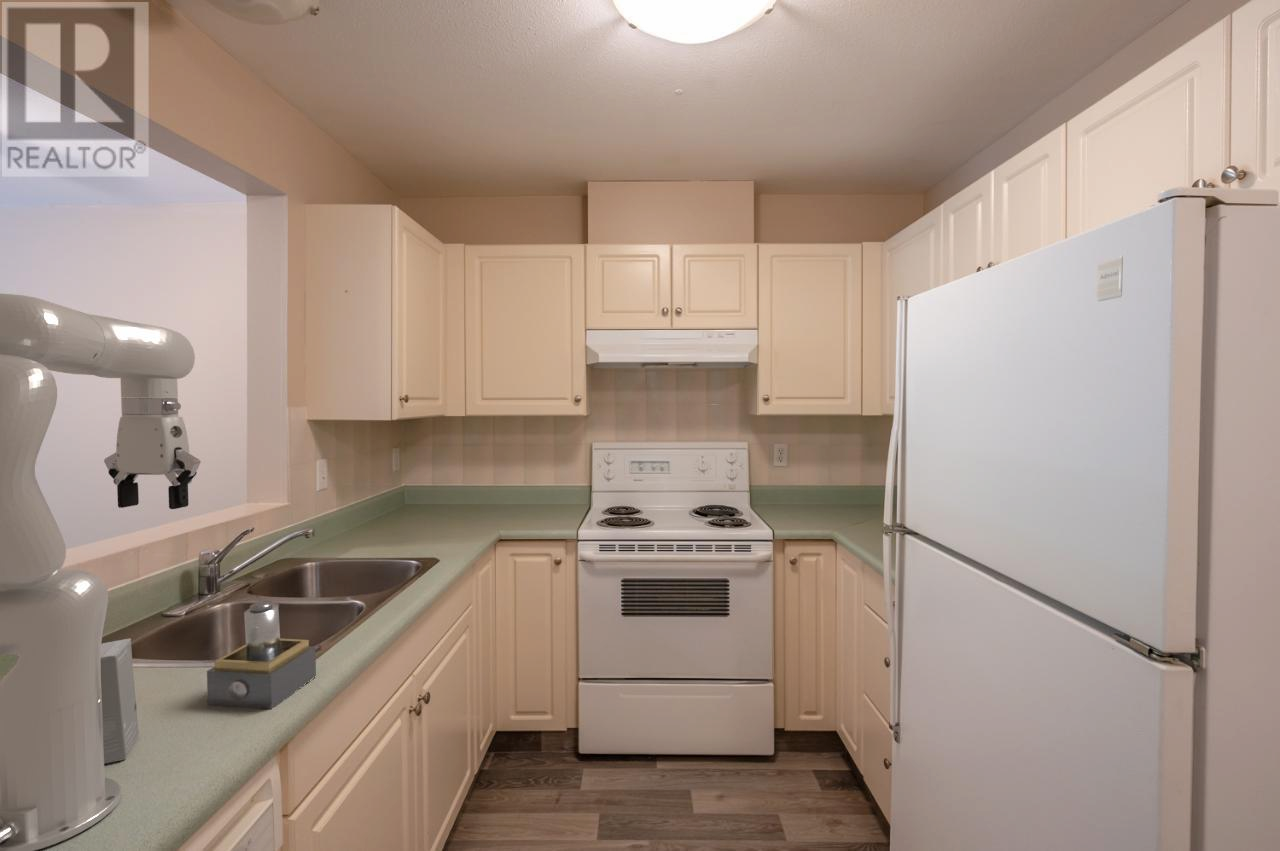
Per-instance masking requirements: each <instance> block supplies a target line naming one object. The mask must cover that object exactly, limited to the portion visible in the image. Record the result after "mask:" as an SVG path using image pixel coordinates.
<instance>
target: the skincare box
mask: <svg viewBox="0 0 1280 851" xmlns="http://www.w3.org/2000/svg"><path fill="white" fill-rule="evenodd" d="M132 651H133V650H132V638H130V637H129V638H124V639H119V640H113V641H108V642H103V643H102V642H101V692H102V719H103V746H104V765H105V764H109V763H114V762H118V761H124V760H126V759H127V757H128V755H129V753H130V751H131V749H132V748H133V746H134V744H135V742H136V740H137V738H138V735H139V722H138V720H139V719H138V711H137V710H138V709H137V701H136V700H137V699H136V686H135V675H134V674H135V673H134V664H133V663H134V662H133V652H132Z"/></svg>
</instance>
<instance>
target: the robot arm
mask: <svg viewBox="0 0 1280 851" xmlns="http://www.w3.org/2000/svg"><path fill="white" fill-rule="evenodd" d="M195 355H196V354H195V351H194V348H193V345H192V343H191V342H190V341H189V339H188V338H187V337H186V336H185V335H183V334H182V333H180V332H179V331H175V330H173V329H170V328H167V327H163V326H156V325H151V324H147V323H141V322H135V321H134V322H133V321H128V320H122V319H120V318H119V319H118V318H113V317H107V316H102V315H95V314H89V313H87V312H82V311H79V310H76V309H72V308H70V307H67V306H63V305H61V304H58V303H54V302H50V301H48V300H45V299H41V298H38V297H36V296H35V297H34V296H28V295H21V294H13V293H0V656H7V655H8V656H9V655H15V656H18V660H17V661H16V663H15V664H14V666H13V667H12V668H11V669H10V670H9V671H8V672H7V673H6V674H5V675H4V676H3V678H2V679H1V680H0V851H39V850H41V849H44V848H48V847H50V846H54V845H56V844H58V843H61V842H63V841H66V840H68V839H70V838H72V837H74V836H76V835H78V834H80V833H82V832H84V831H85V830H86V831H87V829H89V828H91V827H92V826H94V825H95V824H97V823H98V822H100V821H101V820H102V819H104V818H105V817H106V816H108V814H110V813H111V812H112V811H113V810H114V808H115V807H116V806H117V805H118V804H119V802H120V800H121V797H122V789H121V788H122V785H120V783H119V782H118V781H116V780H114V779H109V778H106V777H105V775H106V774H105V764H104V746H103V719H102V692H101V644H102V640H103V631H104V628H105V621H106V616H107V610H108V604H109V590H108V586H107V584H106V582H105V581H104V580H103V579H102V578H101V577H100V576H98V575H96V574H94V573H92V572H89V571H85V570H77V569H76V570H75V569H62V567H63V566H64V564H65V561H66V557H67V549H66V547H67V546H66V544H65V540H64V537H63V535H62V532H61V530H60V527H59V525H58V523H57V521H56V519H55V517H54V515H53V513H52V510H51V509H50V507H49V505H48V503H47V501H46V498H45V496H44V495H43V492H42V490H41V488H40V485H39V483H38V480H37V477H36V469H35V468H36V463H37V458H38V456H39V453H40V449H41V446H42V444H43V441H44V439H45V437H46V434H47V431H48V429H49V426H50V424H51V421H52V418H53V414H54V411H55V409H56V406H57V401H58V387H57V384H56V383H57V382H56V380H55V377H54V375H53V373H52V372H56V373H63V374H70V375H71V374H72V375H82V376H84V375H87V376H95V377H99V378H102V379H103V378H106V379H120V400H121V401H120V402H121V403H120V404H121V409H120V410H121V416H120V418H119V421H118V427H117V434H116V445H115V447H116V448H115V449H116V450H115V452H114V453H112V454H111V455H109V456H107V457H106V458H104V459H103V462H104V464H105V466H106V468H107V470H108V475H109V476H110V478H112V479H113V480H112V481H113V484H114V485H116V490H117V491H116V493H117V507H118V508H119V509H120V508H121V509H124V508H128V507H134V506H135V507H136V506H138V505H139V503H140V502H139V501H140V500H139V499H140V498H139V496H140V495H139V483H138V482H136V481H135V480H137V478H138V477H139V475H140V476H141V475H142V476H143V475H144V476H145V475H147V476H148V475H151V476H154V475H155V476H157V475H158V476H161V475H162V476H163V475H164V476H165V477H166V479H167V480H168V481H169V482H170V484H171V485H169V486H168V489H167V490H168V508H169V510H176V509H177V510H178V509H181V508H186V507H188V506H189V484H190V485H191V483H192V481H193V479H194V478H195V477H196V475H197V473H198V472H197V471H198V469H199V467H200V465H201V460H200V459H199V458H197V457H196V456H194V455H192V454H191V453H190V446H189V438H188V432H187V428H186V424H185V421H184V418H183V417H182V416H179V411H180V410H181V408H182V405H181V403H180V402H179V399H178V398H179V396H178V388H179V387H178V380H179V379H183V378H185V377H187V376H188V375H189V374H190V373H191V372H192V370H193V368H194V365H195V359H196V356H195Z"/></svg>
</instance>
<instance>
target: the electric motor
mask: <svg viewBox="0 0 1280 851" xmlns="http://www.w3.org/2000/svg"><path fill="white" fill-rule="evenodd" d="M279 607H280V603H279V601H271V600H263V601H262V600H261V601H257V602H255V603H252V604H250V605H249V608H248V609H247V610H245V611H244V613H243V617H244V633H245V645H246V654H247V661H259V662H269V661H270V660H272V659H274V658H275V657H277V656H279V655H280V654H281V646H280V639H281V633H280V630H281V629H280V614H279Z"/></svg>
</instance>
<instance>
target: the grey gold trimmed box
mask: <svg viewBox="0 0 1280 851" xmlns="http://www.w3.org/2000/svg"><path fill="white" fill-rule="evenodd" d="M309 642H310V640H309V639H299V638H298V639H296V638H295V639H294V638H280V646H281V654H280V655H279V656H277V657H275V658H274V659H272V660H270V661H269V662H259V661H247V654H246V644H244V645H241V646H240V647H238V648H237V649H235V650H232V651H231V652H229V653H227V654H226V655H224V656H221V657H220V658H218V659H215V660H214V666H213V667H212V668H210V669H208V670H206V682H207V683H206V686H207V688H206V689H207V705H208V706H219V707H222V706H223V707H233V708H234V707H237V708H250V709H265V710H272V708H273V709H274V708H276V707H277V706H278V705H279V703H280V704H281V703H282V702H284V701H285V700H286V699H288V698H289V697H291V696H292V695H294V694H295V693H296V692H297V691H296V690H298V689H299V688H300V687H302V686H303V685H304V684H305V683H307V682H308V681H310V680H311V679H312V678H313V677H315V676H316V677H317V667H316V666H317V665H316V664H317V662H316V660H317V656H316V646H313V645H311V646H310V644H309ZM310 682H311V681H310ZM307 684H308V683H307ZM303 687H304V686H303ZM303 687H302V688H303ZM300 689H301V688H300ZM300 689H299V690H300ZM299 690H298V691H299ZM295 691H296V692H295ZM294 692H295V693H294ZM291 694H292V695H291ZM290 695H291V696H290ZM287 697H288V698H287ZM284 699H285V700H284ZM283 700H284V701H283ZM276 705H277V706H276Z"/></svg>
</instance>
